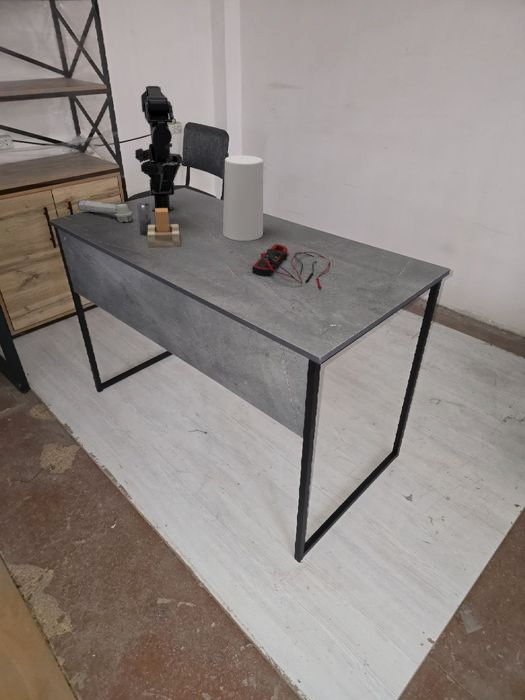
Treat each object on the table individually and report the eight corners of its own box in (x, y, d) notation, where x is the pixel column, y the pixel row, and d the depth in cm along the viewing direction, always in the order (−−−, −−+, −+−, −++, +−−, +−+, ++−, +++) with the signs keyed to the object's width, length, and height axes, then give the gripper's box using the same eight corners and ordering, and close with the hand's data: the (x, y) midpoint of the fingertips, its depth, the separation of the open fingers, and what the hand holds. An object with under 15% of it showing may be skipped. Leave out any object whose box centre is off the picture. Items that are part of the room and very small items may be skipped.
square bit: (157, 237, 156) (155, 208, 150) (169, 237, 157) (167, 208, 151) (158, 242, 153) (155, 212, 147) (170, 241, 154) (168, 211, 148)
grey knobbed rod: (85, 198, 179) (132, 200, 167) (89, 215, 182) (136, 219, 171) (74, 201, 175) (122, 204, 164) (79, 219, 179) (126, 222, 167)
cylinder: (256, 165, 142) (215, 160, 146) (254, 243, 156) (216, 237, 160) (271, 157, 153) (232, 152, 157) (268, 230, 167) (232, 225, 171)
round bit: (143, 230, 162) (140, 202, 157) (154, 232, 161) (151, 203, 156) (138, 234, 159) (134, 205, 154) (148, 236, 158) (145, 207, 153)
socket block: (149, 236, 158) (148, 224, 156) (178, 235, 160) (178, 224, 158) (148, 247, 150) (147, 235, 148) (179, 246, 152) (179, 234, 150)
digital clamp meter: (242, 264, 132) (271, 236, 151) (242, 278, 134) (270, 249, 154) (322, 279, 125) (341, 247, 145) (320, 294, 128) (339, 261, 148)
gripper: (152, 134, 161) (156, 180, 170) (123, 142, 146) (129, 193, 155) (181, 137, 158) (184, 183, 167) (155, 146, 144) (159, 197, 152)
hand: (164, 189), depth 160 cm, fingers open, 9 cm apart
